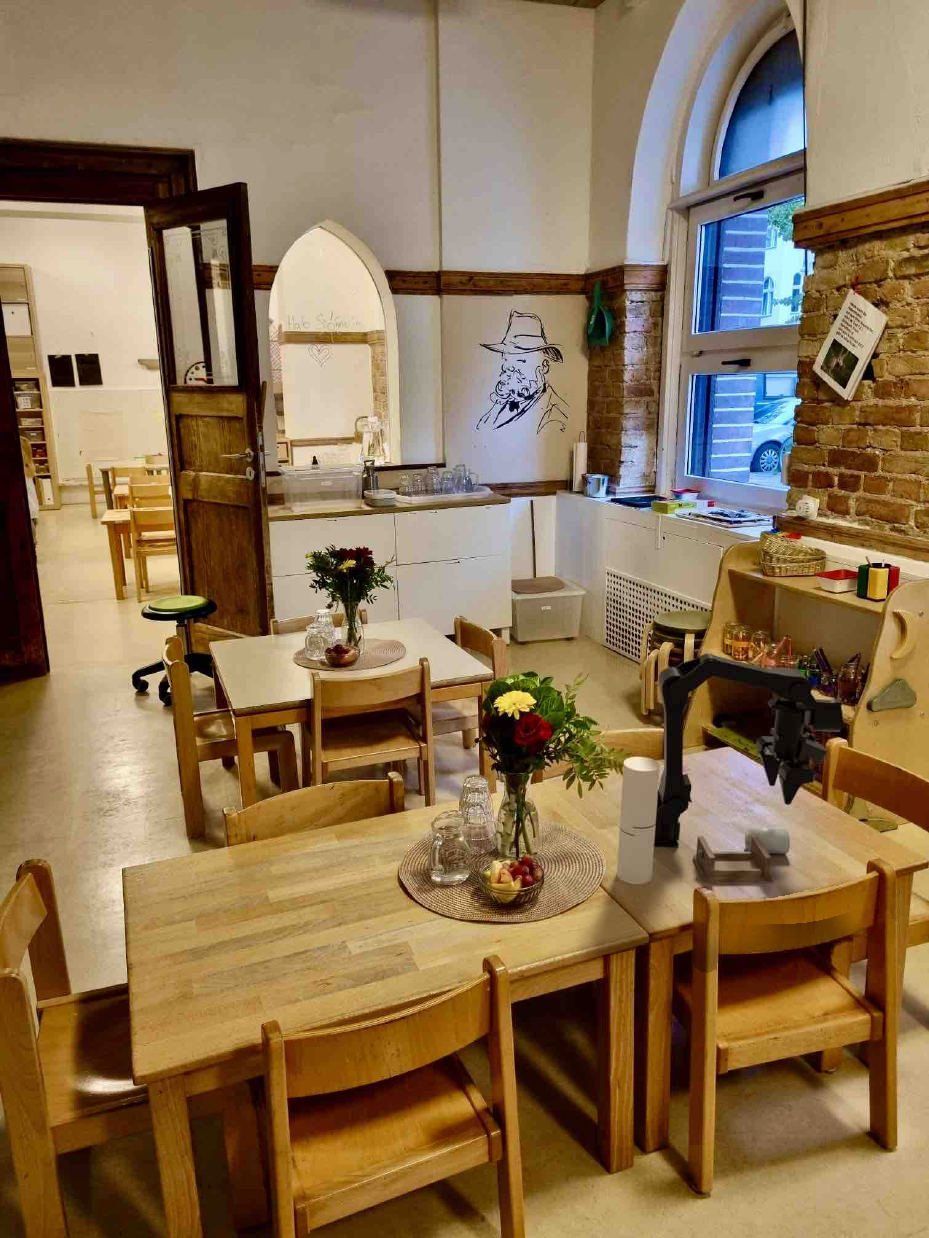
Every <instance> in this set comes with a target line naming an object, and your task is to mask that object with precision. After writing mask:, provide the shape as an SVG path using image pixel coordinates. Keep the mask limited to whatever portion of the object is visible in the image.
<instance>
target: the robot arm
mask: <svg viewBox="0 0 929 1238" xmlns="http://www.w3.org/2000/svg"><path fill="white" fill-rule="evenodd" d="M713 677H716V678H719V679H724V680H727V681H732V682H736V683H740V684H745V685H748V686H749V685H750V686H753V687H757V688H761V689H765V690H767V691H769V692H771V693H772V694H774V697H773V698H771V699H769V700H768V701H767V704H768V706H769V707H770V709H771V710H776V713H775V722H774V727H771V728H770V734H772V736H768V735H767V736H766V735H765V736H763V735H761V736H760V737H758V738H757V739H756V743H755V744H756V745H755V748H756V749H757V754H758V755H759V758H760V762H761V763H762V766H763V767H762V768H763V769H764V772H765V776H766V779H767V782H768V785H769V787H774V786H775V785H776V783H777V779H779V784H780V789H781V794H782V797H783V802H784V805H789V806H790V805H791V804H792V802H793V800H794V798H795V796H796V795H797V792H798V791H799V790H800V788H801V787H802V786H803V785H804V784H810V783H814V782H815V778H816V772H815V770H813V769H812V768H811V766H809V764H807V763H806V762H804V761H805V759H806V758H807V759H809V760H812V761H814V762H816V763H817V764H819V765H822V763H823V761H824V759H825V758H826V756H827V754H828V752H829V750H828V749H826V748H825V746H823V745H822V744H821V743H819V742H818V741H816V737H815V736H814V735H813V734H812V733H809V732H807V731H806V732H804V723H805V725H806V726H809V728H810V730H811V731H817V732H818V731H820V732H834V733H835V732H836V733H839V732H841V731H842V729H843V726H844V715H843V710H842V705H843V704H842V702H841V701H840V699H835V698H833V699H818V698H816V697H815V696H814V695H813V693H812V689H813V688H812V683H811V682H810V680H809V679H808V678H807V677H806V676H805V675H804V673H803V672H802V671H800V670H799V669H798V668H793V667H779V666H778V667H764V666H763V667H762V666H759V665H758V666H757V665H754V664H750V663H746V662H743V661H739V660H738V661H737V660H734V659H729V658H726V657H722V656H718V655H717V656H716V655H714V654H713V653H708V652H707V653H704V654H701V655H699V656H698V657H696V658H693V659H690V660H687V661H684V662H682V663H680V664H678V665H676V666H674V667H673V666H672V667H667V668H664V669H662V670H661V672H659V674H658V679H657V681H658V686H659V692H660V697H661V702H662V705H663V721H664V722H663V726H664V728H663V729H664V730H663V732H664V733H663V735H664V736H663V738H664V739H663V741H664V742H663V743H664V744H663V745H664V746H663V747H664V749H663V752H664V753H663V755H664V756H663V758H664V761H663V767H664V768H663V771H662V774H661V777H660V779H659V784H658V798H657V812H656V826H655V839H654V847H679V840H680V834H681V832H680V831H681V822H680V820H679V818H680V817H681V815H682V814H684V812H685V811H687V810H688V808H689V803H690V804H691V803H693V800H692V797H691V793H692V783H691V780H690V778H689V774H688V773H684V772H683V771H684V770H683V769H684V764H683V763H684V761H683V759H684V758H683V757H684V754H683V753H684V752H683V751H684V749H683V748H684V745H683V744H684V743H683V742H684V741H683V740H684V737H683V736H684V734H683V733H684V712H685V710H686V707H687V703H688V698H689V693H692V692H693V691H694V690H697V689H698V688H699V687H700V686H702V684H704V683H705V682H706V681H708V680H709V679H710V678H713ZM780 697H781V698H782V699H781V698H780ZM803 732H804V734H803ZM797 760H798V761H799V762H798V761H797ZM801 761H803V762H801ZM683 773H684V774H683Z"/></svg>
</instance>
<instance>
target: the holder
mask: <svg viewBox="0 0 929 1238" xmlns="http://www.w3.org/2000/svg"><path fill="white" fill-rule="evenodd" d="M695 852H696V853H695V854H694V855H692V856H693V857H692V861H693V863H695V866H696V868H697V870H698V872H699V874H700V876H701V878H702V880H703V881H704V882H709V883H710V882H712V883H713V882H714V883H715V882H717V883H718V882H723V883H725V882H727V883H730V882H733V883H735V882H736V883H741V882H744V883H747V882H752V883H753V882H754V883H757V882H756V881H772V882H773V875H772V874H771V868H772V867H771V866H772V865H771V864H772V856H771V853H769V851H768V850H766V849H765V847H764V846H763V844H762V843H761V841H760V840H759V838H758V837H757V836H752V838H751V848H750V852H748V851H712V849H711V848H710V846H709V843H708V842H707V840H706V838H705V837H704V836H703V835H702V836H701V835H699V836H698V835H697V841H696V851H695Z"/></svg>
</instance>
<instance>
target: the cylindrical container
mask: <svg viewBox="0 0 929 1238" xmlns="http://www.w3.org/2000/svg"><path fill="white" fill-rule="evenodd" d="M660 766H661V765H660V763H659V762H658V761H656V760H655V759H652V758H650V757H647V756H646V757H644V756H630V757H627V758H626V759H625V760H624V761H623V768H622V785H621V786H622V787H621V799H620V801H621V802H620V804H621V805H620V817H619V818H620V819H619V835H618V848H617V849H618V852H617V867H616V876H617V878H619V879H620V881H623V882H625V883H627V884H631V885H644V884H648V883H649V882H650V881H651V880H652V878H653V868H654V867H653V866H654V865H653V863H654V852H655V851H654V850H655V846H654V839H655V826H656V812H657V798H658V790H659V785H660V768H661V767H660Z"/></svg>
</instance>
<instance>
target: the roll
mask: <svg viewBox="0 0 929 1238" xmlns="http://www.w3.org/2000/svg"><path fill="white" fill-rule="evenodd" d="M752 836H757V837H758V838H759V840H760V841H761V843H762V844H763V846H764V847H765V849H766V850H768V851H769V854H788V853H789V851H790V848H791V847H790V846H791V843H790V842H791V841H790V834H789V831H788V830H787V828H786V827H747V828H746V829H745V832H744V845H745V849H746V852H750V848H751V838H752Z"/></svg>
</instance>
